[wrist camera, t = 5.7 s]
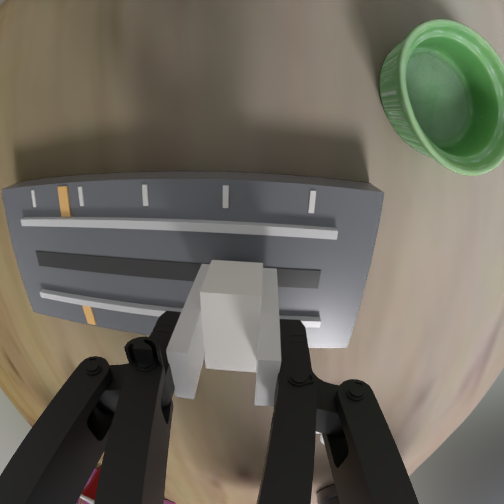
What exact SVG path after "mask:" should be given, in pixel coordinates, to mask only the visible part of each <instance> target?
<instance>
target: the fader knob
mask: <svg viewBox="0 0 504 504" xmlns="http://www.w3.org/2000/svg"><path fill="white" fill-rule="evenodd" d="M262 281H263V263H259V262H245V261H228V260H212V261H211V263H210V266H209V269H208V271H207V274H206V277H205V279H204V282H203V285H202V287H201V290H200V303H201V316H202V331H203V343H204V355H205V365H206V368H207V369H217V370H228V371H241V372H256V364H257V351H258V338H259V326H260V314H261V303H262Z"/></svg>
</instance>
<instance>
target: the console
mask: <svg viewBox="0 0 504 504" xmlns="http://www.w3.org/2000/svg"><path fill="white" fill-rule="evenodd" d="M2 195H3V201H4V207H5V213H6V218H7V223H8V228H9V232H10V237H11V241H12V245H13V249H14V253H15V257H16V260H17V264H18V267H19V271H20V274H21V277H22V280H23V283H24V286H25V289H26V292H27V295H28V298H29V301H30V303H31V306H32V309H33V311H34V312H36V313H40V314H44V315H48V316H52V317H56V318H61V319H65V320H69V321H74V322H79V323H83V324H88V325H93V326H98V327H104V328H109V329H115V330H120V331H126V332H132V333H139V334H145V335H151V332H153V328H154V326H155V325H156V322H157V320H158V318H159V316H161V315H162V314H163V313H164V312H166V311H176V312H182V309H183V307H184V305H185V302H186V300H187V297H188V295H189V293H190V290H191V288H192V285H193V283H194V281H195V278H196V276H197V274H198V271H199V269H200V267H201V264H210V263H211V261H212V260H228V261H245V262H259V263H263V268H274V269H277V281H278V299H279V319H293V320H300V321H301V322H302V323H303V325H304V326H305V328H306V334H307V341H308V347H309V348H347V346H348V343H349V340H350V337H351V334H352V330H353V327H354V324H355V320H356V317H357V314H358V310H359V307H360V303H361V299H362V296H363V292H364V288H365V284H366V280H367V276H368V272H369V268H370V263H371V259H372V255H373V250H374V245H375V241H376V236H377V231H378V226H379V220H380V215H381V209H382V203H383V197H384V192H382V191H381V190H379V189H378V188H376V187H375V186H373V185H372V184H370V183H364V182H356V181H348V180H339V179H329V178H319V177H308V176H295V175H282V174H266V173H245V172H214V171H153V172H123V173H104V174H88V175H75V176H64V177H54V178H44V179H36V180H28V181H21V182H19V183H16V184H14V185H11V186H9V187H6V188H4V189H2Z"/></svg>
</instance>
